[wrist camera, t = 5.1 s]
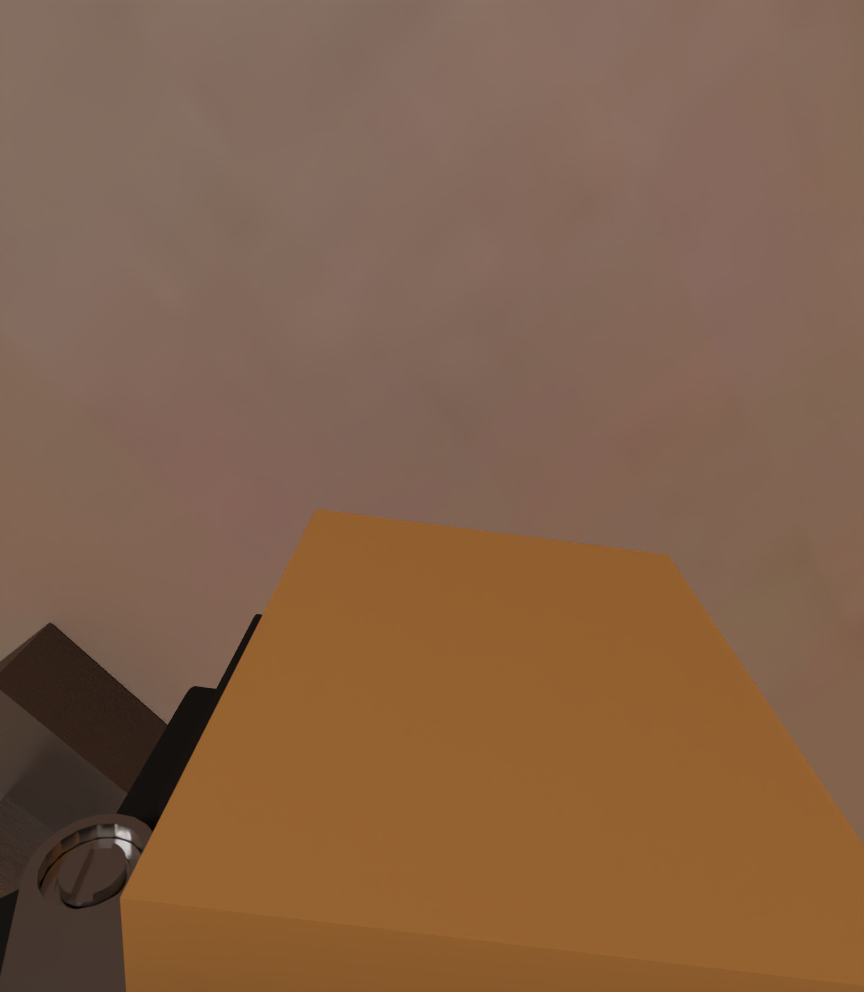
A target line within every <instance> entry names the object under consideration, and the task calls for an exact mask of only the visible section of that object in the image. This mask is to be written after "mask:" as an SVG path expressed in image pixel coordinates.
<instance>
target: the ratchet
mask: <svg viewBox="0 0 864 992" xmlns="http://www.w3.org/2000/svg"><path fill="white" fill-rule="evenodd" d="M166 727H167V725H166V724H165V723H164V722H163V721H161V720H160V719H159V718H158V717H157V716H156V715H155V714H153V713H152V712H151V711H150V710H149V709H148V708H147V707H145V706H144V705H143V704H142V703H141V702H140V701H139V700H137V699H136V698H135V697H134V696H133V695H132V694H131V693H130V692H128V691H127V690H126V689H125V688H124V687H123V686H122V685H120V684H119V683H118V682H117V681H116V680H115V679H114V678H112V677H111V676H110V675H109V674H108V673H107V672H106V671H104V670H103V669H102V668H101V667H100V666H99V665H98V664H96V663H95V662H94V661H93V660H92V659H91V658H90V657H89V656H87V655H86V654H85V653H84V652H83V651H82V650H81V649H79V648H78V647H77V646H76V645H75V644H74V643H73V642H71V641H70V640H69V639H68V638H67V637H66V636H65V635H63V634H62V633H61V632H60V631H59V630H58V629H57V628H56V627H54V626H53V625H52V624H51V623H49V624H47V625H46V626H45V627H44V628H42V629H41V630H40V631H38V632H37V633H36V634H35V635H33V636H32V637H31V638H30V639H28V640H27V641H26V642H25V643H23V644H22V645H21V646H20V647H18V648H17V649H16V650H15V651H13V652H12V653H11V654H10V655H8V656H7V657H6V658H5V659H3V660H2V661H1V662H0V898H2V897H4V896H6V895H8V894H10V893H12V892H14V891H16V890H18V889H20V884H21V880H22V876H23V874H24V871H25V869H26V866H27V864H28V861H29V859H30V858H31V857H32V856H33V854H34V853H35V852H36V851H37V849H38V848H39V847H40V846H41V844H42V843H43V842H45V841H46V840H47V839H48V838H50V837H51V836H52V835H53V834H55V833H56V832H57V831H58V830H60V829H62V828H64V827H66V826H68V825H70V824H72V823H74V822H76V821H78V820H81V819H85V818H88V817H92V816H95V815H101V814H116V813H117V811H118V809H119V808H120V806H121V804H122V803H123V801H124V799H125V797H126V796H127V794H128V792H129V791H130V789H131V787H132V785H133V784H134V782H135V780H136V779H137V777H138V775H139V773H140V772H141V770H142V768H143V767H144V765H145V763H146V761H147V760H148V758H149V756H150V755H151V753H152V751H153V749H154V748H155V746H156V744H157V743H158V741H159V739H160V738H161V736H162V734H163V732H164V731H165V729H166Z"/></svg>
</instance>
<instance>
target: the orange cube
mask: <svg viewBox="0 0 864 992" xmlns="http://www.w3.org/2000/svg"><path fill="white" fill-rule="evenodd" d="M120 907H121V922H122V937H123V952H124V968H125V983H126V992H864V845H863V844H862V842H861V841H860V839H859V838H858V836H857V835H856V833H855V832H854V830H853V829H852V827H851V826H850V824H849V823H848V821H847V820H846V818H845V817H844V815H843V814H842V812H841V811H840V810H839V808H838V806H837V805H836V803H835V802H834V801H833V799H832V798H831V796H830V795H829V793H828V792H827V790H826V789H825V787H824V786H823V784H822V783H821V781H820V780H819V778H818V777H817V775H816V774H815V773H814V771H813V770H812V768H811V766H810V765H809V763H808V762H807V761H806V759H805V757H804V756H803V755H802V753H801V752H800V750H799V749H798V747H797V746H796V744H795V743H794V741H793V740H792V738H791V737H790V735H789V734H788V732H787V731H786V729H785V728H784V726H783V725H782V723H781V722H780V720H779V719H778V717H777V716H776V714H775V713H774V711H773V710H772V709H771V707H770V706H769V704H768V703H767V701H766V700H765V698H764V697H763V695H762V694H761V692H760V691H759V689H758V688H757V686H756V685H755V683H754V682H753V680H752V679H751V677H750V676H749V674H748V673H747V671H746V670H745V668H744V667H743V666H742V664H741V663H740V661H739V660H738V658H737V657H736V655H735V654H734V652H733V651H732V649H731V648H730V646H729V645H728V643H727V642H726V640H725V639H724V637H723V636H722V634H721V633H720V631H719V630H718V628H717V627H716V625H715V624H714V622H713V621H712V620H711V618H710V617H709V615H708V614H707V612H706V611H705V609H704V608H703V606H702V605H701V603H700V602H699V600H698V599H697V597H696V596H695V594H694V593H693V591H692V590H691V588H690V587H689V585H688V584H687V582H686V581H685V579H684V578H683V576H682V575H681V574H680V572H679V571H678V569H677V568H676V566H675V565H674V563H673V562H672V560H671V559H670V557H669V556H668V555H666V554H658V553H651V552H643V551H635V550H628V549H620V548H612V547H604V546H597V545H589V544H581V543H574V542H566V541H558V540H550V539H543V538H535V537H527V536H520V535H512V534H504V533H496V532H489V531H481V530H473V529H466V528H458V527H450V526H443V525H435V524H427V523H419V522H412V521H404V520H396V519H389V518H381V517H373V516H365V515H358V514H350V513H342V512H335V511H327V510H319V509H316V510H315V512H314V514H313V516H312V518H311V520H310V522H309V524H308V526H307V528H306V530H305V532H304V534H303V536H302V538H301V540H300V542H299V544H298V546H297V548H296V550H295V552H294V554H293V556H292V558H291V560H290V562H289V564H288V566H287V568H286V570H285V572H284V574H283V576H282V578H281V580H280V582H279V584H278V586H277V588H276V589H275V591H274V593H273V595H272V597H271V599H270V601H269V603H268V605H267V607H266V609H265V611H264V613H263V615H262V617H261V619H260V621H259V623H258V625H257V627H256V629H255V631H254V633H253V635H252V637H251V639H250V641H249V643H248V645H247V647H246V649H245V651H244V653H243V655H242V657H241V659H240V661H239V663H238V665H237V667H236V669H235V671H234V673H233V675H232V677H231V679H230V681H229V683H228V685H227V687H226V689H225V691H224V693H223V695H222V696H221V698H220V700H219V702H218V704H217V706H216V708H215V710H214V712H213V714H212V716H211V718H210V720H209V722H208V724H207V726H206V728H205V730H204V732H203V734H202V736H201V738H200V740H199V742H198V744H197V746H196V748H195V750H194V752H193V754H192V756H191V758H190V760H189V762H188V764H187V766H186V768H185V770H184V772H183V774H182V776H181V778H180V780H179V782H178V784H177V786H176V788H175V790H174V792H173V794H172V796H171V798H170V800H169V801H168V803H167V805H166V807H165V809H164V811H163V813H162V815H161V817H160V819H159V821H158V823H157V825H156V827H155V829H154V831H153V833H152V835H151V837H150V839H149V841H148V843H147V845H146V847H145V849H144V851H143V853H142V855H141V857H140V859H139V861H138V863H137V865H136V867H135V869H134V871H133V873H132V875H131V877H130V879H129V881H128V883H127V885H126V887H125V889H124V891H123V893H122V895H121V897H120Z"/></svg>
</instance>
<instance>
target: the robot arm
mask: <svg viewBox="0 0 864 992" xmlns="http://www.w3.org/2000/svg"><path fill="white" fill-rule="evenodd" d="M261 617H262V615H261V614H256V615H255V617H254V618H253V620H252V622H251V624H250V626H249V628H248V629H247V631H246V633H245V635H244V637H243V639H242V641H241V643H240V645H239V647H238V649H237V650H236V652H235V654H234V656H233V658H232V660H231V662H230V664H229V666H228V668H227V670H226V671H225V673H224V675H223V677H222V679H221V681H220V683H219V685H218V687H217V689H213V688H205V687H197V686H194V687H192V688H190V689H189V691H188V692H187V693H186V695H185V696H184V698H183V700H182V702H181V703H180V705H179V707H178V708H177V710H176V712H175V714H174V715H173V717H172V719H171V720H170V722H169V724H168V726H167V727H166V729H165V731H164V732H163V734H162V736H161V738H160V739H159V741H158V743H157V744H156V746H155V748H154V749H153V751H152V753H151V755H150V756H149V758H148V760H147V761H146V763H145V765H144V767H143V768H142V770H141V772H140V773H139V775H138V777H137V779H136V780H135V782H134V784H133V785H132V787H131V789H130V791H129V792H128V794H127V796H126V797H125V799H124V801H123V803H122V804H121V806H120V808H119V809H118V811H117V813H116V814H101V815H95V816H92V817H88V818H85V819H81V820H78V821H76V822H74V823H72V824H70V825H68V826H66V827H64V828H62V829H60V830H58V831H57V832H56V833H55V834H53V835H52V836H51V837H50V838H48V839H47V840H46V841H45V842H43V843H42V844H41V846H40V847H39V848H38V849H37V851H36V852H35V853H34V854H33V856H32V857H31V858H30V859H29V861H28V864H27V866H26V869H25V871H24V874H23V876H22V880H21V884H20V889H18V890H16V891H14V892H12V893H10V894H8V895H6V896H4V897H2V898H0V992H126V983H125V968H124V952H123V937H122V922H121V907H120V897H121V895H122V893H123V891H124V889H125V887H126V885H127V883H128V881H129V879H130V877H131V875H132V873H133V871H134V869H135V867H136V865H137V863H138V861H139V859H140V857H141V855H142V853H143V851H144V849H145V847H146V845H147V843H148V841H149V839H150V837H151V835H152V833H153V831H154V829H155V827H156V825H157V823H158V821H159V819H160V817H161V815H162V813H163V811H164V809H165V807H166V805H167V803H168V801H169V800H170V798H171V796H172V794H173V792H174V790H175V788H176V786H177V784H178V782H179V780H180V778H181V776H182V774H183V772H184V770H185V768H186V766H187V764H188V762H189V760H190V758H191V756H192V754H193V752H194V750H195V748H196V746H197V744H198V742H199V740H200V738H201V736H202V734H203V732H204V730H205V728H206V726H207V724H208V722H209V720H210V718H211V716H212V714H213V712H214V710H215V708H216V706H217V704H218V702H219V700H220V698H221V696H222V695H223V693H224V691H225V689H226V687H227V685H228V683H229V681H230V679H231V677H232V675H233V673H234V671H235V669H236V667H237V665H238V663H239V661H240V659H241V657H242V655H243V653H244V651H245V649H246V647H247V645H248V643H249V641H250V639H251V637H252V635H253V633H254V631H255V629H256V627H257V625H258V623H259V621H260V619H261Z"/></svg>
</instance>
